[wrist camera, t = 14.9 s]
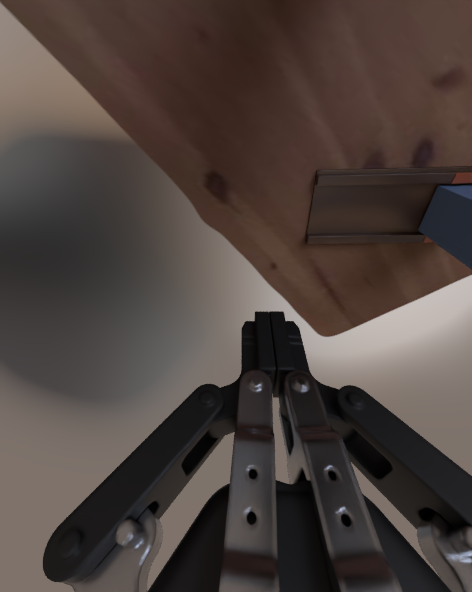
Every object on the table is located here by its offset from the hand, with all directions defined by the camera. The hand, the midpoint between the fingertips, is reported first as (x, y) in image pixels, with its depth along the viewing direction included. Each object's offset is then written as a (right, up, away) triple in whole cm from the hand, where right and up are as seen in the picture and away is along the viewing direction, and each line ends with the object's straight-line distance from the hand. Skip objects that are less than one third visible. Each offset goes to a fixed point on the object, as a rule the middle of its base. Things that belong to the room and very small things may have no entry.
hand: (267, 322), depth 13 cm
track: (+23, +14, +20) cm, 33 cm away
